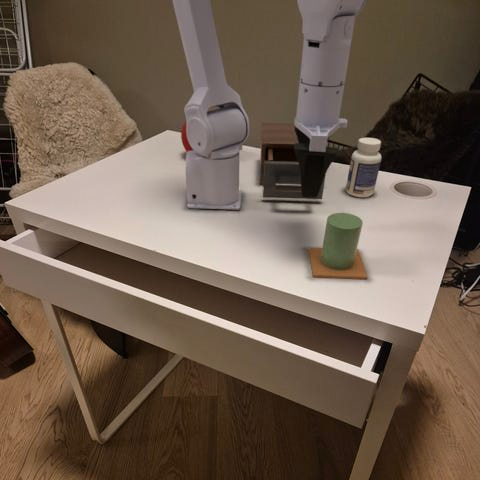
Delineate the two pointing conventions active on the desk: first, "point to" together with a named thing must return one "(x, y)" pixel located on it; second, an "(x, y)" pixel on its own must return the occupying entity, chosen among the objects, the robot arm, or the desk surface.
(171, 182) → the desk surface
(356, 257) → the coaster
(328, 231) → the tin
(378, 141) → the pill bottle
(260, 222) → the desk surface
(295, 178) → the drawer
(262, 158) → the cabinet
